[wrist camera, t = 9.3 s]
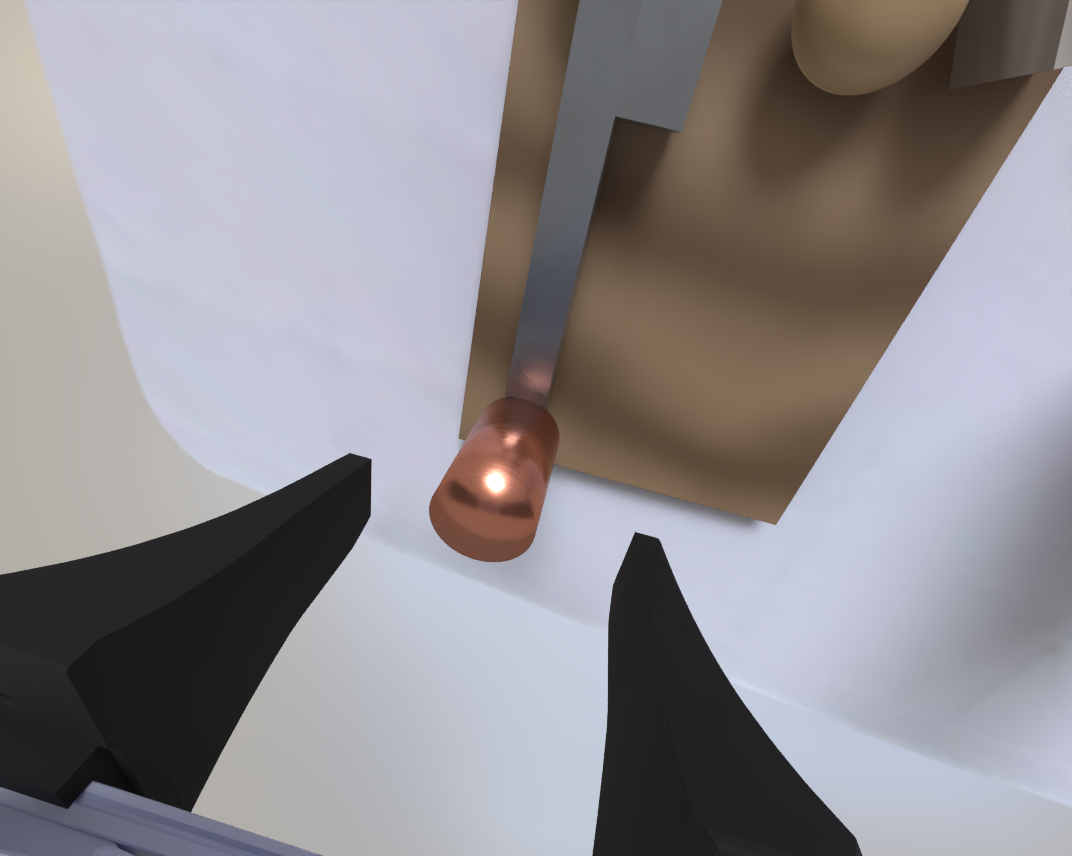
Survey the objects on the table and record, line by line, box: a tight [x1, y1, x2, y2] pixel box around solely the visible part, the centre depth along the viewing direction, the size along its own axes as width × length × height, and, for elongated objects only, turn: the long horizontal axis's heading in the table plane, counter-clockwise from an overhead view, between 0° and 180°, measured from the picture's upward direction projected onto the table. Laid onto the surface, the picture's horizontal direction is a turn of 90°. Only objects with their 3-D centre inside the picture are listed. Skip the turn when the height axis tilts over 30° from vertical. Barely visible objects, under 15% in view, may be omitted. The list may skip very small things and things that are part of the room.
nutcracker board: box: [459, 0, 1072, 525], centre depth 15 cm, size 22×15×6 cm
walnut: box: [791, 0, 969, 95], centre depth 11 cm, size 4×4×4 cm
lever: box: [429, 0, 722, 562], centre depth 13 cm, size 20×5×8 cm, turn 169°
